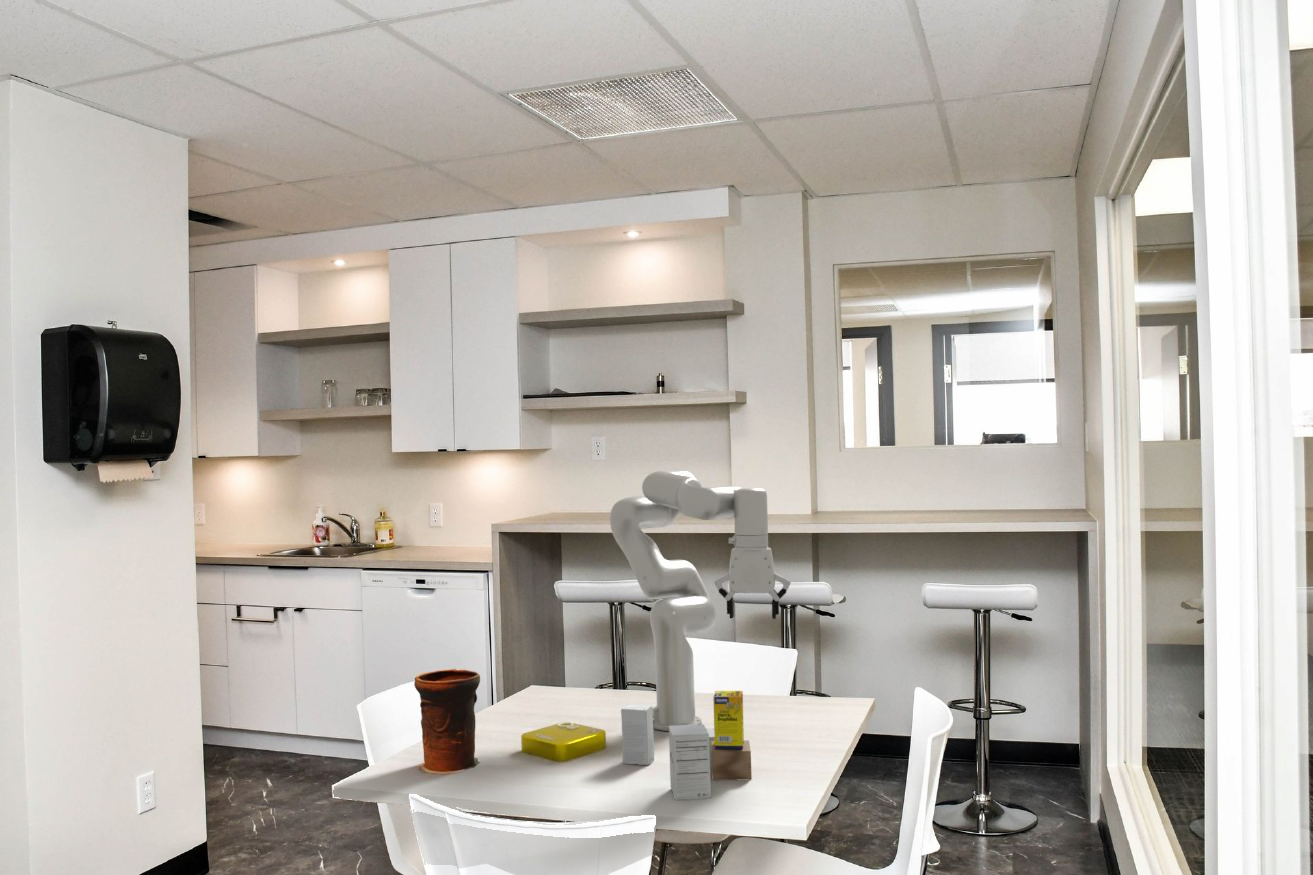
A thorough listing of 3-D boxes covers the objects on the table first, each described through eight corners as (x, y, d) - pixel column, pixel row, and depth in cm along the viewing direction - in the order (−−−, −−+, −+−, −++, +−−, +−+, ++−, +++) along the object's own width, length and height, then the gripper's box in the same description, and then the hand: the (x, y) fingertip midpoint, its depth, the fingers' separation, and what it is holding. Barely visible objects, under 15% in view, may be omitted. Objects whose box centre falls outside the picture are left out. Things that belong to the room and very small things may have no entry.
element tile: (518, 753, 230) (517, 732, 230) (566, 738, 241) (565, 718, 241) (561, 764, 220) (560, 742, 220) (609, 749, 231) (609, 728, 231)
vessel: (409, 760, 225) (409, 671, 226) (471, 753, 231) (471, 666, 232) (420, 778, 212) (420, 683, 213) (486, 769, 218) (486, 677, 218)
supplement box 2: (743, 749, 206) (741, 696, 206) (714, 749, 206) (712, 696, 207) (744, 742, 211) (742, 690, 212) (716, 741, 212) (714, 690, 213)
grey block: (703, 765, 215) (702, 737, 216) (699, 756, 222) (698, 729, 223) (735, 763, 216) (734, 735, 216) (730, 754, 223) (729, 727, 223)
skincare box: (654, 760, 220) (653, 705, 220) (648, 765, 216) (646, 710, 216) (629, 758, 222) (627, 704, 222) (622, 763, 218) (620, 708, 218)
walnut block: (712, 781, 205) (711, 751, 205) (712, 769, 213) (711, 740, 213) (751, 780, 205) (750, 750, 205) (749, 768, 213) (748, 740, 213)
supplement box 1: (670, 788, 200) (668, 725, 201) (706, 786, 201) (704, 723, 201) (673, 800, 193) (671, 734, 193) (711, 798, 194) (709, 732, 194)
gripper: (711, 543, 225) (713, 620, 225) (788, 543, 222) (790, 621, 222) (715, 540, 233) (717, 614, 232) (790, 540, 229) (792, 615, 229)
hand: (753, 617), depth 227 cm, fingers open, 9 cm apart
